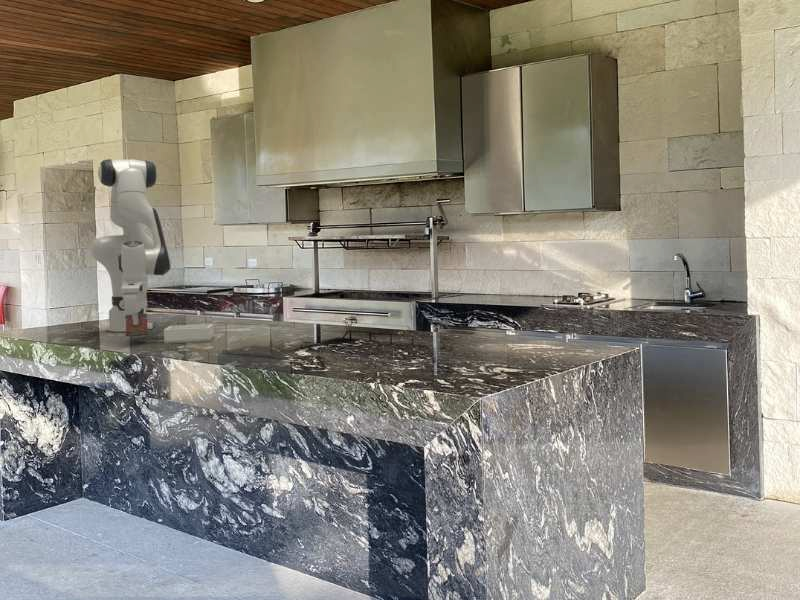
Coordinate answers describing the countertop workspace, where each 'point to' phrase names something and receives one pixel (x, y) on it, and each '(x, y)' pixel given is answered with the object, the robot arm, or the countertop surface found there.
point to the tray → (189, 333)
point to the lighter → (137, 329)
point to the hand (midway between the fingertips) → (137, 323)
